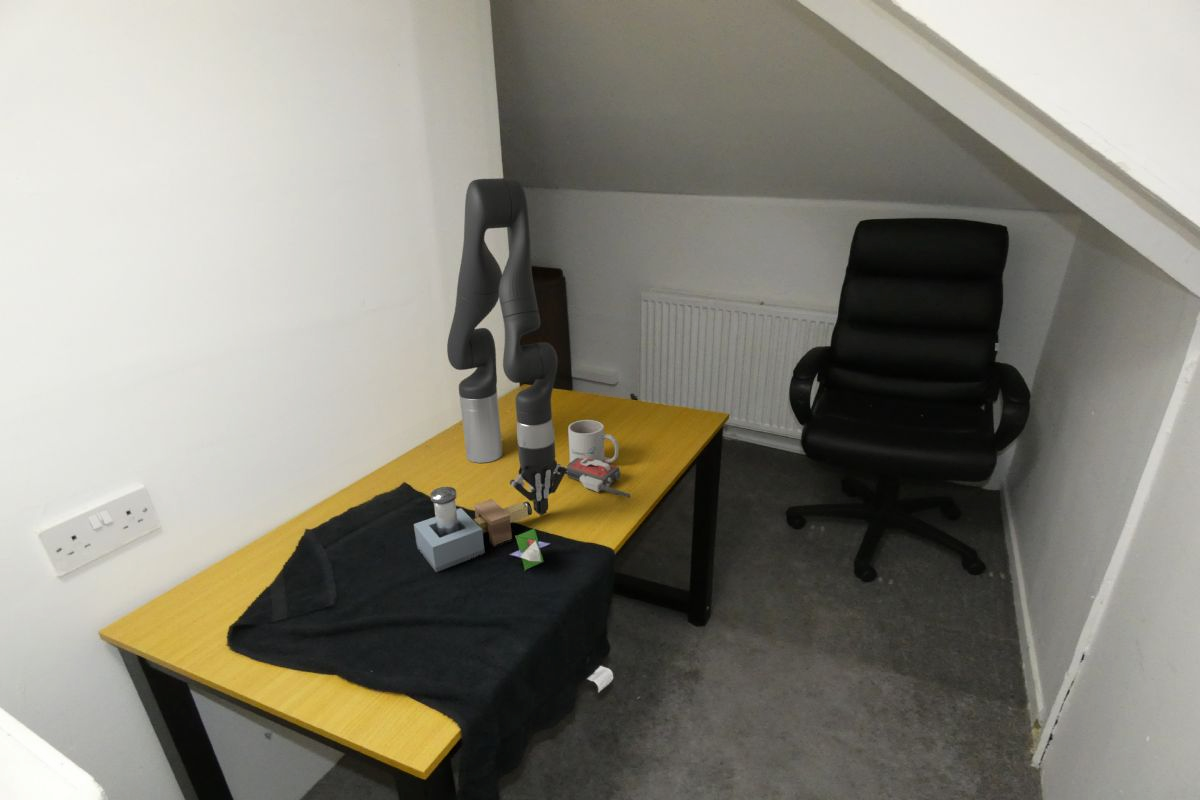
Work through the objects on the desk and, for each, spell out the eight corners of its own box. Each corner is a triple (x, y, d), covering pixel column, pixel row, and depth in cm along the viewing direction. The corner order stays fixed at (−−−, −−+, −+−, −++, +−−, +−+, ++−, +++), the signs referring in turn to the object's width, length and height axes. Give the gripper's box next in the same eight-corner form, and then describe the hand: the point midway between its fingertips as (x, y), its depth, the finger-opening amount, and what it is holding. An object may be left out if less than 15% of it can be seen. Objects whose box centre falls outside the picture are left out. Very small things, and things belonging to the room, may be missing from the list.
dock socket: (417, 547, 131) (413, 524, 129) (463, 531, 136) (461, 508, 134) (436, 572, 123) (432, 547, 121) (484, 553, 128) (482, 529, 126)
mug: (563, 467, 162) (561, 430, 158) (581, 453, 169) (579, 417, 165) (607, 477, 156) (606, 439, 152) (623, 462, 163) (623, 426, 159)
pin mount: (477, 529, 137) (474, 504, 135) (494, 522, 139) (491, 498, 137) (494, 546, 131) (491, 521, 128) (511, 539, 133) (509, 515, 130)
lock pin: (474, 529, 133) (473, 517, 132) (525, 511, 140) (524, 498, 138) (480, 536, 131) (479, 523, 130) (532, 517, 137) (531, 504, 136)
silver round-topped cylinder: (434, 545, 130) (426, 491, 126) (456, 536, 132) (450, 484, 128) (443, 556, 126) (436, 501, 122) (466, 547, 129) (460, 494, 124)
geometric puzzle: (500, 548, 126) (510, 530, 120) (530, 535, 130) (541, 517, 124) (517, 580, 124) (528, 564, 118) (548, 566, 127) (560, 550, 121)
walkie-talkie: (556, 480, 155) (627, 503, 145) (555, 463, 154) (626, 486, 143) (578, 463, 162) (648, 485, 151) (577, 448, 160) (647, 469, 149)
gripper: (554, 425, 140) (558, 496, 146) (498, 441, 133) (505, 515, 139) (573, 436, 134) (576, 510, 141) (516, 454, 127) (522, 531, 134)
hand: (541, 512), depth 140 cm, fingers closed
